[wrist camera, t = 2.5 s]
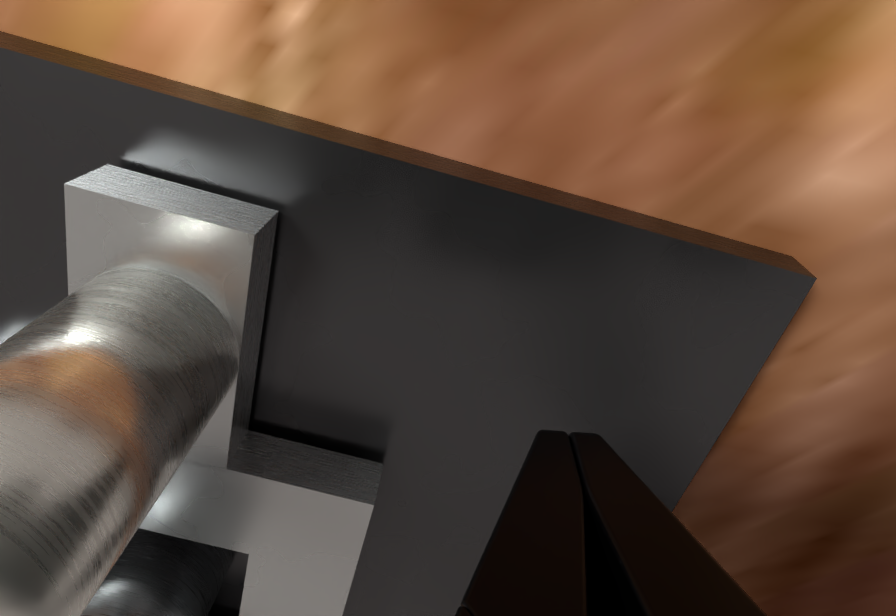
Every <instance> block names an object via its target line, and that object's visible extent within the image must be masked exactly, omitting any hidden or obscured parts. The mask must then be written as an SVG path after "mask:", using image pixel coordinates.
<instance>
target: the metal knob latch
mask: <svg viewBox="0 0 896 616" xmlns="http://www.w3.org/2000/svg"><path fill="white" fill-rule="evenodd" d="M64 196H65V221H66V247H67V273H68V296H67V297H66V298H65V299H63V300H62V301H60V302H59V303H58V304H56V305H55V306H53V307H52V308H51V309H49V310H48V311H46V312H45V313H44V314H42V315H41V316H39V317H38V318H37V319H35V320H34V321H32V322H31V323H30V324H28V325H27V326H25V327H24V328H23V329H21V330H20V331H18V332H17V333H16V334H14V335H13V336H11V337H10V338H9V339H7V340H6V341H4V342H3V343H2V344H0V616H81V614H82V613H83V611H84V610H85V608H86V607H87V605H88V604H89V602H90V601H91V599H92V598H93V596H94V595H95V593H96V592H97V590H98V588H99V587H100V585H101V584H102V582H103V581H104V579H105V578H106V576H107V575H108V573H109V572H110V570H111V569H112V567H113V566H114V564H115V563H116V561H117V560H118V558H119V557H120V555H121V554H122V552H123V551H124V549H125V548H126V546H127V545H128V543H129V542H130V540H131V539H132V537H133V536H134V534H135V533H136V531H137V530H138V528H140V529H145V530H149V531H153V532H157V533H161V534H166V535H170V536H174V537H178V538H183V539H187V540H191V541H195V542H199V543H204V544H208V545H212V546H216V547H221V548H225V549H229V550H233V551H237V552H242V553H246V554H249V557H248V563H247V569H246V576H245V582H244V588H243V594H242V601H241V607H240V613H239V616H342V615H343V611H344V608H345V604H346V601H347V597H348V594H349V590H350V587H351V583H352V580H353V577H354V573H355V570H356V566H357V563H358V559H359V556H360V552H361V549H362V545H363V542H364V538H365V535H366V531H367V528H368V525H369V521H370V518H371V514H372V511H373V507H374V503H375V499H376V495H377V491H378V486H379V482H380V478H381V473H382V469H383V465H384V464H382V463H378V462H374V461H370V460H366V459H362V458H358V457H354V456H350V455H346V454H342V453H338V452H334V451H330V450H326V449H322V448H318V447H314V446H310V445H306V444H302V443H298V442H294V441H290V440H286V439H282V438H278V437H274V436H270V435H266V434H262V433H258V432H254V431H250V430H248V427H249V420H250V413H251V405H252V398H253V391H254V384H255V377H256V369H257V362H258V355H259V348H260V341H261V333H262V326H263V319H264V312H265V304H266V297H267V290H268V283H269V276H270V268H271V261H272V254H273V247H274V240H275V232H276V225H277V218H278V211H277V210H273V209H270V208H266V207H262V206H259V205H255V204H251V203H248V202H244V201H240V200H237V199H233V198H229V197H226V196H222V195H219V194H215V193H211V192H208V191H204V190H200V189H197V188H193V187H189V186H186V185H182V184H178V183H175V182H171V181H167V180H164V179H160V178H156V177H153V176H149V175H146V174H142V173H138V172H135V171H131V170H127V169H124V168H120V167H116V166H113V165H109V164H107V165H105V166H103V167H100V168H98V169H96V170H94V171H91V172H89V173H87V174H85V175H82V176H80V177H78V178H76V179H73V180H71V181H69V182H67V183H64Z"/></svg>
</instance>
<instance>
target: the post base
mask: <svg viewBox="0 0 896 616" xmlns="http://www.w3.org/2000/svg"><path fill="white" fill-rule="evenodd" d="M107 164H109V165H113V166H116V167H120V168H124V169H127V170H131V171H135V172H138V173H142V174H146V175H149V176H153V177H156V178H160V179H164V180H167V181H171V182H175V183H178V184H182V185H186V186H189V187H193V188H197V189H200V190H204V191H208V192H211V193H215V194H219V195H222V196H226V197H229V198H233V199H237V200H240V201H244V202H248V203H251V204H255V205H259V206H262V207H266V208H270V209H273V210H277V211H278V218H277V225H276V232H275V240H274V247H273V254H272V261H271V268H270V276H269V283H268V290H267V297H266V304H265V312H264V319H263V326H262V333H261V341H260V348H259V355H258V362H257V369H256V377H255V384H254V391H253V398H252V405H251V413H250V420H249V427H248V430H250V431H254V432H258V433H262V434H266V435H270V436H274V437H278V438H282V439H286V440H290V441H294V442H298V443H302V444H306V445H310V446H314V447H318V448H322V449H326V450H330V451H334V452H338V453H342V454H346V455H350V456H354V457H358V458H362V459H366V460H370V461H374V462H378V463H382V464H384V465H383V469H382V473H381V478H380V482H379V486H378V491H377V495H376V499H375V503H374V507H373V511H372V514H371V518H370V521H369V525H368V528H367V531H366V535H365V538H364V542H363V545H362V549H361V552H360V556H359V559H358V563H357V566H356V570H355V573H354V577H353V580H352V583H351V587H350V590H349V594H348V597H347V601H346V604H345V608H344V611H343V615H342V616H454V615H455V613H456V611H457V609H458V607H460V605H461V601H462V599H463V596H464V594H465V592H466V590H467V588H468V585H469V583H470V581H471V579H472V576H473V574H474V572H475V570H476V567H477V565H478V563H479V561H480V559H481V556H482V554H483V552H484V550H485V547H486V545H487V543H488V541H489V538H490V536H491V534H492V532H493V530H494V527H495V525H496V523H497V521H498V518H499V516H500V514H501V512H502V509H503V507H504V505H505V503H506V501H507V498H508V496H509V494H510V492H511V489H512V487H513V485H514V483H515V480H516V478H517V476H518V474H519V472H520V469H521V467H522V465H523V463H524V460H525V458H526V456H527V454H528V452H529V449H530V447H531V445H532V443H533V440H534V438H535V436H536V434H537V432H538V431H539V430H556V431H565V432H566V433H567V434H568V435H569V434H570V433H571V432H585V433H596V434H599V435H600V436H601V437H602V438H603V439H604V440H605V441H606V442H607V443H608V444H609V445H610V446H611V447H612V448H613V449H614V451H615V452H616V453H617V454H618V455H619V456H620V457H621V458H622V459H623V460H624V461H625V462H626V464H627V465H628V466H629V467H630V468H631V469H632V470H633V471H634V472H635V473H636V474H637V475H638V477H639V478H640V479H641V480H642V481H643V482H644V483H645V484H646V485H647V486H648V487H649V488H650V490H651V491H652V492H653V493H654V494H655V495H656V496H657V497H658V498H659V499H660V500H661V501H662V503H663V504H664V505H665V506H666V507H667V508H668V509H669V510H670V511H671V512H672V511H673V509H674V508H675V506H676V504H677V503H678V501H679V500H680V498H681V496H682V495H683V493H684V492H685V490H686V488H687V487H688V485H689V483H690V482H691V480H692V479H693V477H694V475H695V474H696V472H697V471H698V469H699V467H700V466H701V464H702V463H703V461H704V459H705V458H706V456H707V454H708V453H709V451H710V450H711V448H712V446H713V445H714V443H715V442H716V440H717V438H718V437H719V435H720V434H721V432H722V430H723V429H724V427H725V425H726V424H727V422H728V421H729V419H730V417H731V416H732V414H733V413H734V411H735V409H736V408H737V406H738V405H739V403H740V401H741V400H742V398H743V397H744V395H745V393H746V392H747V390H748V388H749V387H750V385H751V384H752V382H753V380H754V379H755V377H756V376H757V374H758V372H759V371H760V369H761V368H762V366H763V364H764V363H765V361H766V359H767V358H768V356H769V355H770V353H771V351H772V350H773V348H774V347H775V345H776V343H777V342H778V340H779V339H780V337H781V335H782V334H783V332H784V330H785V329H786V327H787V326H788V324H789V322H790V321H791V319H792V318H793V316H794V314H795V313H796V311H797V310H798V308H799V306H800V305H801V303H802V301H803V300H804V298H805V297H806V295H807V293H808V292H809V290H810V289H811V287H812V285H813V284H814V282H815V281H816V279H817V278H816V277H815V276H814V275H812V274H811V273H810V272H809V271H808V270H807V269H806V268H805V267H803V266H802V265H801V264H800V263H799V262H798V261H797V260H795V259H794V258H793V257H792V256H788V255H785V254H781V253H778V252H774V251H771V250H767V249H764V248H760V247H757V246H753V245H750V244H746V243H743V242H739V241H736V240H732V239H729V238H725V237H722V236H718V235H715V234H711V233H707V232H704V231H700V230H697V229H693V228H690V227H686V226H683V225H679V224H676V223H672V222H669V221H665V220H662V219H658V218H655V217H651V216H648V215H644V214H641V213H637V212H634V211H630V210H627V209H623V208H620V207H616V206H613V205H609V204H606V203H602V202H599V201H595V200H592V199H588V198H585V197H581V196H577V195H574V194H570V193H567V192H563V191H560V190H556V189H553V188H549V187H546V186H542V185H539V184H535V183H532V182H528V181H525V180H521V179H518V178H514V177H511V176H507V175H504V174H500V173H497V172H493V171H490V170H486V169H483V168H479V167H476V166H472V165H469V164H465V163H462V162H458V161H455V160H451V159H447V158H444V157H440V156H437V155H433V154H430V153H426V152H423V151H419V150H416V149H412V148H409V147H405V146H402V145H398V144H395V143H391V142H388V141H384V140H381V139H377V138H374V137H370V136H367V135H363V134H360V133H356V132H353V131H349V130H346V129H342V128H339V127H335V126H332V125H328V124H325V123H321V122H317V121H314V120H310V119H307V118H303V117H300V116H296V115H293V114H289V113H286V112H282V111H279V110H275V109H272V108H268V107H265V106H261V105H258V104H254V103H251V102H247V101H244V100H240V99H237V98H233V97H230V96H226V95H223V94H219V93H216V92H212V91H209V90H205V89H202V88H198V87H195V86H191V85H187V84H184V83H180V82H177V81H173V80H170V79H166V78H163V77H159V76H156V75H152V74H149V73H145V72H142V71H138V70H135V69H131V68H128V67H124V66H121V65H117V64H114V63H110V62H107V61H103V60H100V59H96V58H93V57H89V56H86V55H82V54H79V53H75V52H72V51H68V50H65V49H61V48H57V47H54V46H50V45H47V44H43V43H40V42H36V41H33V40H29V39H26V38H22V37H19V36H15V35H12V34H8V33H5V32H1V31H0V344H2V343H3V342H4V341H6V340H7V339H9V338H10V337H11V336H13V335H14V334H16V333H17V332H18V331H20V330H21V329H23V328H24V327H25V326H27V325H28V324H30V323H31V322H32V321H34V320H35V319H37V318H38V317H39V316H41V315H42V314H44V313H45V312H46V311H48V310H49V309H51V308H52V307H53V306H55V305H56V304H58V303H59V302H60V301H62V300H63V299H65V298H66V297H67V296H68V273H67V247H66V221H65V196H64V183H67V182H69V181H71V180H73V179H76V178H78V177H80V176H82V175H85V174H87V173H89V172H91V171H94V170H96V169H98V168H100V167H103V166H105V165H107ZM248 557H249V554H246V553H242V552H237V551H233V550H229V549H225V548H221V547H216V546H212V545H208V544H204V543H199V542H195V541H191V540H187V539H183V538H178V537H174V536H170V535H166V534H161V533H157V532H153V531H149V530H145V529H140V528H138V530H137V531H136V533H135V534H134V536H133V537H132V539H131V540H130V542H129V543H128V545H127V546H126V548H125V549H124V551H123V552H122V554H121V555H120V557H119V558H118V560H117V561H116V563H115V564H114V566H113V567H112V569H111V570H110V572H109V573H108V575H107V576H106V578H105V579H104V581H103V582H102V584H101V585H100V587H99V588H98V590H97V592H96V593H95V595H94V596H93V598H92V599H91V601H90V602H89V604H88V605H87V607H86V608H85V610H84V611H83V613H82V614H81V616H239V613H240V607H241V601H242V594H243V588H244V582H245V576H246V569H247V563H248Z"/></svg>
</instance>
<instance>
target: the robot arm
mask: <svg viewBox="0 0 896 616" xmlns="http://www.w3.org/2000/svg"><path fill="white" fill-rule="evenodd" d="M454 616H767V615H766V614H765V613H764V612H763V611H762V610H761V609H760V608H759V607H758V605H757V604H756V603H755V602H754V601H753V600H752V599H751V598H750V597H749V596H748V595H747V594H746V592H745V591H744V590H743V589H742V588H741V587H740V586H739V585H738V584H737V583H736V582H735V581H734V579H733V578H732V577H731V576H730V575H729V574H728V573H727V572H726V571H725V570H724V569H723V568H722V566H721V565H720V564H719V563H718V562H717V561H716V560H715V559H714V558H713V557H712V556H711V555H710V553H709V552H708V551H707V550H706V549H705V548H704V547H703V546H702V545H701V544H700V543H699V542H698V540H697V539H696V538H695V537H694V536H693V535H692V534H691V533H690V532H689V531H688V530H687V529H686V527H685V526H684V525H683V524H682V523H681V522H680V521H679V520H678V519H677V518H676V517H675V516H674V514H673V513H672V512H671V511H670V510H669V509H668V508H667V507H666V506H665V505H664V504H663V503H662V501H661V500H660V499H659V498H658V497H657V496H656V495H655V494H654V493H653V492H652V491H651V490H650V488H649V487H648V486H647V485H646V484H645V483H644V482H643V481H642V480H641V479H640V478H639V477H638V475H637V474H636V473H635V472H634V471H633V470H632V469H631V468H630V467H629V466H628V465H627V464H626V462H625V461H624V460H623V459H622V458H621V457H620V456H619V455H618V454H617V453H616V452H615V451H614V449H613V448H612V447H611V446H610V445H609V444H608V443H607V442H606V441H605V440H604V439H603V438H602V437H601V436H600V435H599V434H596V433H585V432H571V433H570V434H569V435H568V434H567V433H566V432H565V431H556V430H539V431H538V432H537V434H536V436H535V438H534V440H533V443H532V445H531V447H530V449H529V452H528V454H527V456H526V458H525V460H524V463H523V465H522V467H521V469H520V472H519V474H518V476H517V478H516V480H515V483H514V485H513V487H512V489H511V492H510V494H509V496H508V498H507V501H506V503H505V505H504V507H503V509H502V512H501V514H500V516H499V518H498V521H497V523H496V525H495V527H494V530H493V532H492V534H491V536H490V538H489V541H488V543H487V545H486V547H485V550H484V552H483V554H482V556H481V559H480V561H479V563H478V565H477V567H476V570H475V572H474V574H473V576H472V579H471V581H470V583H469V585H468V588H467V590H466V592H465V594H464V596H463V599H462V601H461V605H460V607H458V609H457V611H456V613H455V615H454Z"/></svg>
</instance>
